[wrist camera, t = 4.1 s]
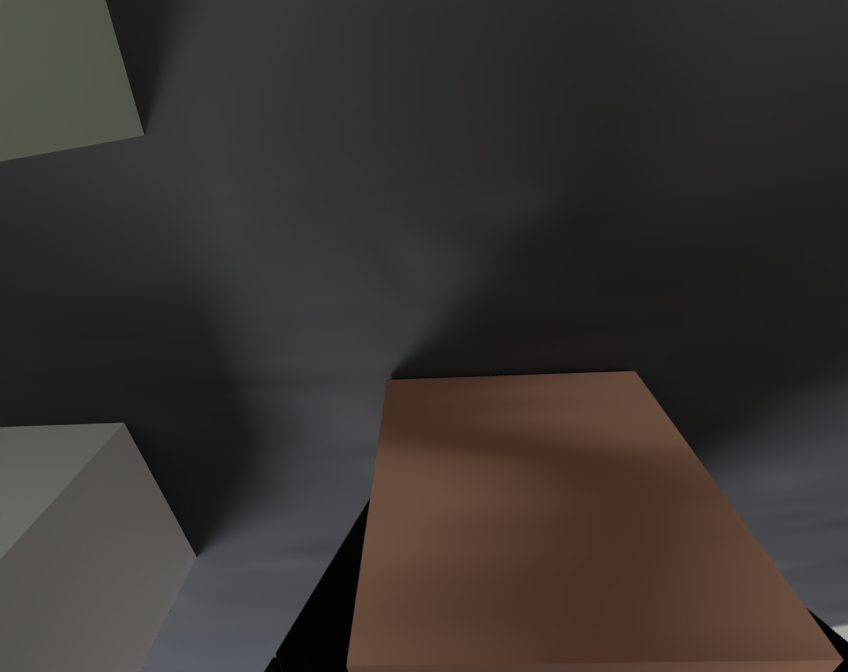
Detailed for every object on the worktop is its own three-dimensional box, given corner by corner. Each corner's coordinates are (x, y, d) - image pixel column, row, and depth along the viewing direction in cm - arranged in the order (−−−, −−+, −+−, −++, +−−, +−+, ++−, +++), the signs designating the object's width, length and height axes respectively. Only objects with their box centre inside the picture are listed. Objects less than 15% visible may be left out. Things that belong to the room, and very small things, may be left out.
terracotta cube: (405, 533, 11) (390, 811, 7) (386, 379, 9) (346, 666, 4) (597, 528, 11) (703, 811, 7) (635, 370, 9) (843, 659, 4)
